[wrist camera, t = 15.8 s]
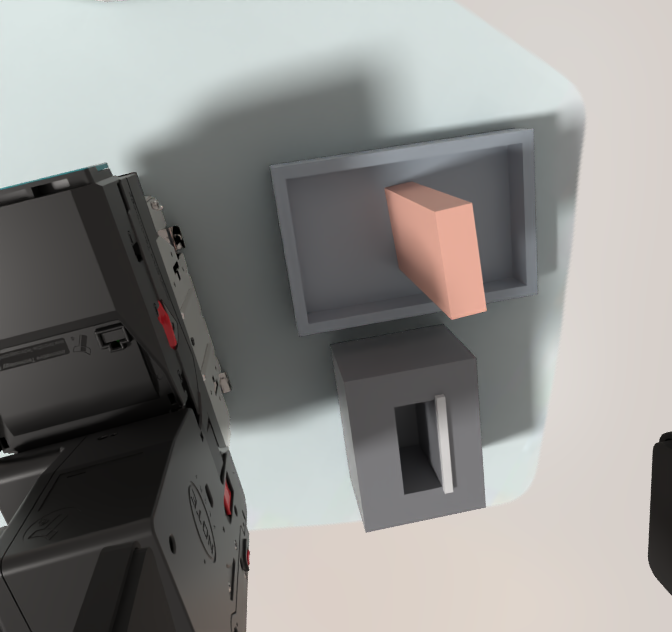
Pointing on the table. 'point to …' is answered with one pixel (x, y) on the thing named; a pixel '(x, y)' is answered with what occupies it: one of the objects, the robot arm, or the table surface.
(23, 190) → the bill acceptor
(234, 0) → the table surface
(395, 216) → the salmon pink rectangular block
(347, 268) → the tray
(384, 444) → the dispenser
